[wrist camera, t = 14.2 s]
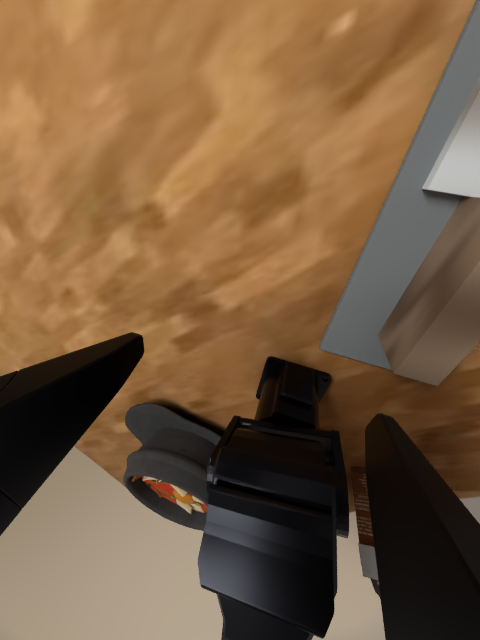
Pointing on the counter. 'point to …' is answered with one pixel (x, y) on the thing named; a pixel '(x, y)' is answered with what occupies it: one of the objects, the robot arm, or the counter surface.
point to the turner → (444, 269)
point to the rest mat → (405, 216)
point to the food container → (364, 526)
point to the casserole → (170, 464)
